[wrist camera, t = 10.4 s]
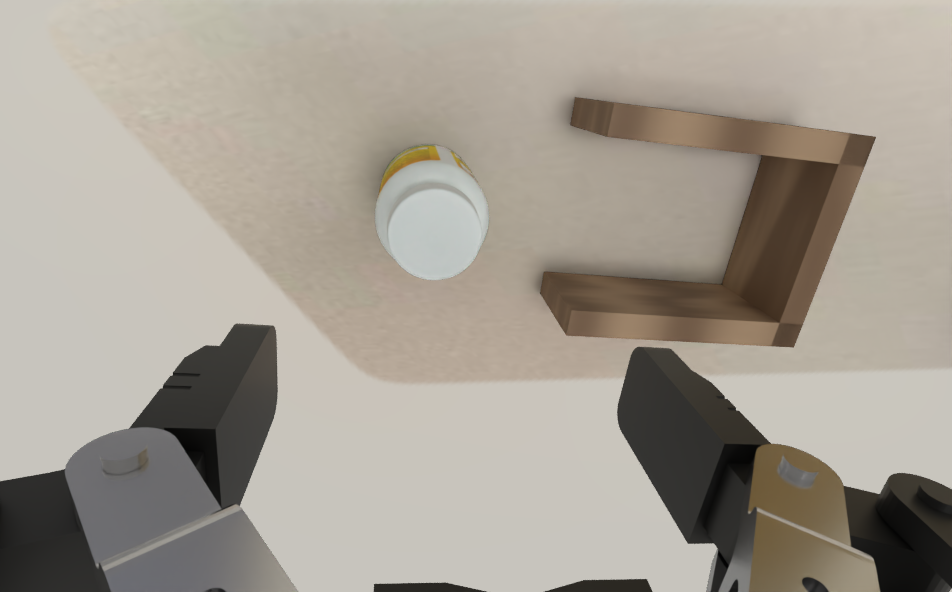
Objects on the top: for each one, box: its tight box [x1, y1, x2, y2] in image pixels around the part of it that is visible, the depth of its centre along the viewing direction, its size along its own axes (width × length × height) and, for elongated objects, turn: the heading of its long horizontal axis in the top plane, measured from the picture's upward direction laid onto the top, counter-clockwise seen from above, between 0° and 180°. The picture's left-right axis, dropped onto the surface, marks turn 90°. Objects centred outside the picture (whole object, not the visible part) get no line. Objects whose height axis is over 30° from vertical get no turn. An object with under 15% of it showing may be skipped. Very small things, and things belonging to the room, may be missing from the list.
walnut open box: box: [540, 97, 876, 347], centre depth 30 cm, size 14×12×6 cm
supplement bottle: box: [375, 144, 489, 280], centre depth 26 cm, size 5×5×10 cm
